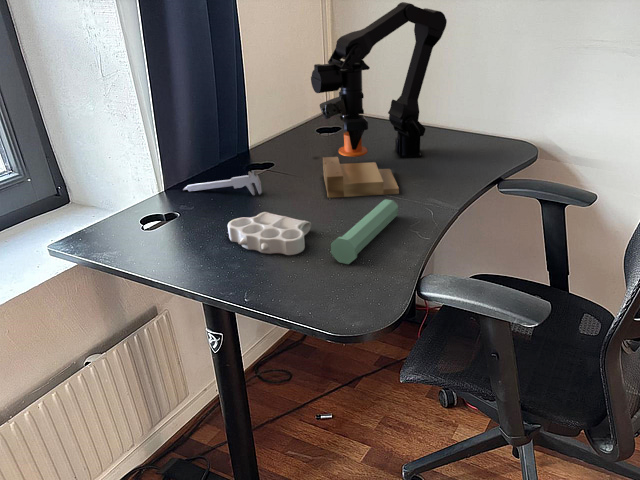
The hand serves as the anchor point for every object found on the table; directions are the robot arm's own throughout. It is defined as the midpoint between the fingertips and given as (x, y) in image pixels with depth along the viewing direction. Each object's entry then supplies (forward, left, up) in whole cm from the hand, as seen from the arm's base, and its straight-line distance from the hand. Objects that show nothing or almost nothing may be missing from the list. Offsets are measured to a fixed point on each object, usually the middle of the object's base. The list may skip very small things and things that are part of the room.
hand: (353, 146), depth 169 cm
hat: (0, 0, -2) cm, 2 cm away
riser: (0, +15, -5) cm, 16 cm away
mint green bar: (+2, +45, -6) cm, 46 cm away
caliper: (+35, +15, -6) cm, 38 cm away
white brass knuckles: (+23, +43, -6) cm, 49 cm away
